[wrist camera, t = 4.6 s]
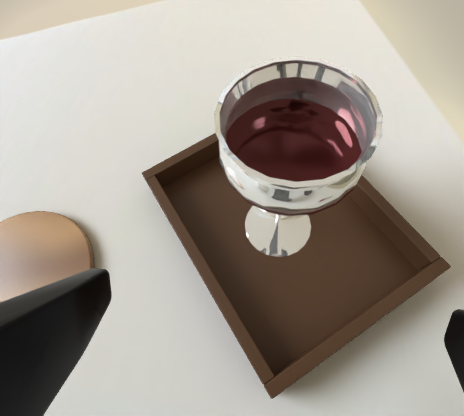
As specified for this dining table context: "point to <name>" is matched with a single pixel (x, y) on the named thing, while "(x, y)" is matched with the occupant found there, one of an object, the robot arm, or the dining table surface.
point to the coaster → (40, 252)
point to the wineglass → (294, 144)
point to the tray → (292, 265)
